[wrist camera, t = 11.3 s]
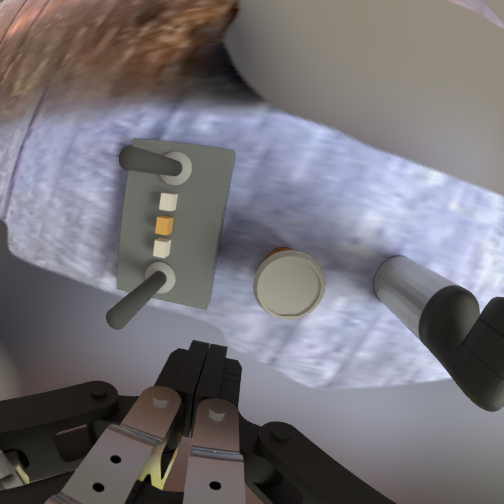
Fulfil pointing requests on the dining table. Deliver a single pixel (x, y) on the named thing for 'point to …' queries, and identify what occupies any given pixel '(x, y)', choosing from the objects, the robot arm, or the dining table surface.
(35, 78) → the dining table surface
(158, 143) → the panel
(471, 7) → the dining table surface
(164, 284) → the cable post
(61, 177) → the dining table surface
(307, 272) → the disposable coffee cup
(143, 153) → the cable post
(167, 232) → the orange small block
